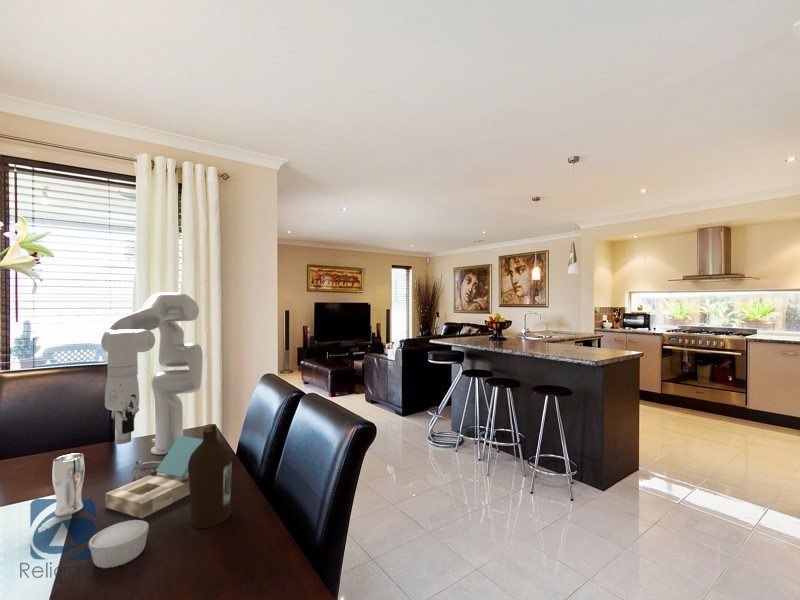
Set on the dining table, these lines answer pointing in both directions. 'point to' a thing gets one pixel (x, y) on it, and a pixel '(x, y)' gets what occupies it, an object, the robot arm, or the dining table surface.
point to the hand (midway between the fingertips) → (123, 431)
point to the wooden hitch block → (148, 494)
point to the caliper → (143, 468)
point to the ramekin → (118, 543)
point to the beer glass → (68, 483)
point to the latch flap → (179, 456)
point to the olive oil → (210, 480)
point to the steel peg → (120, 429)
